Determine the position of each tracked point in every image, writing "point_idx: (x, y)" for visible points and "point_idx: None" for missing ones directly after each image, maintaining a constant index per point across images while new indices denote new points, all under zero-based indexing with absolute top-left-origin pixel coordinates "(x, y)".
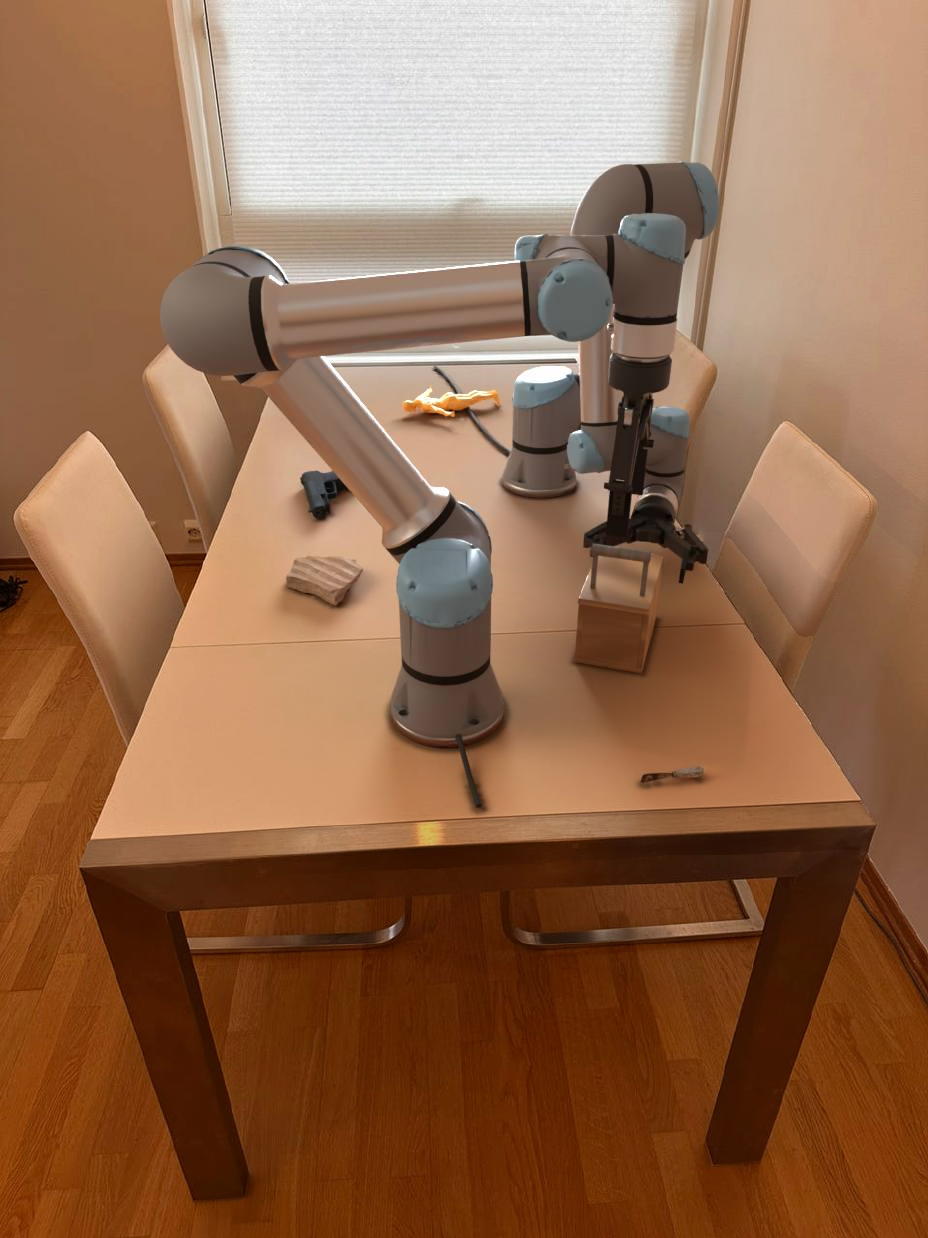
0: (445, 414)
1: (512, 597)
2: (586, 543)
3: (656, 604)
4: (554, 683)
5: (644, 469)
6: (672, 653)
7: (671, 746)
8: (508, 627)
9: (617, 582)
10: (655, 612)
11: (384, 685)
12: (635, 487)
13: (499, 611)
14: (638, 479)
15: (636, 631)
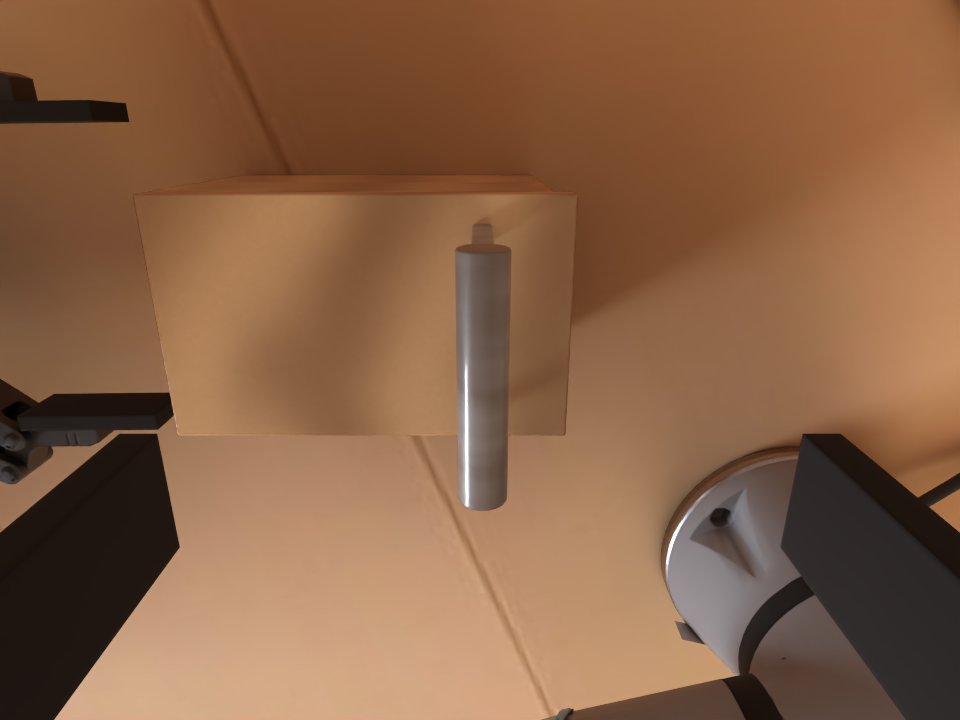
0: None
1: (292, 540)
2: (41, 457)
3: (265, 180)
4: (627, 373)
5: (24, 563)
6: (406, 101)
7: (832, 50)
8: (427, 517)
9: (417, 333)
10: (274, 178)
11: (707, 666)
12: (141, 509)
13: (366, 551)
14: (98, 535)
15: None
